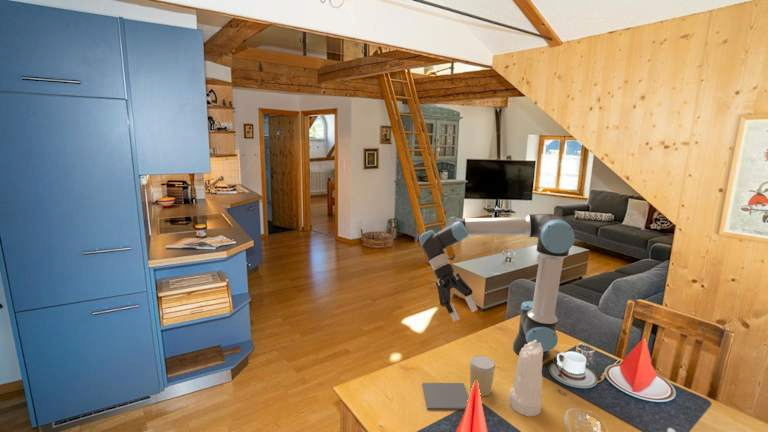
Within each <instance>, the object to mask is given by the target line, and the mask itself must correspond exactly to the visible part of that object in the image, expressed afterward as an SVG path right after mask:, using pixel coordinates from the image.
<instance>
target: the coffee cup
mask: <svg viewBox="0 0 768 432" xmlns="http://www.w3.org/2000/svg"><path fill="white" fill-rule="evenodd" d="M495 369H496V364H495V361H494V360H493V359H492V358H491V357H489V356H486V355H480V354H479V355H478V354H477V355H474V356H472V357H471V359H470V360H469V372H470V373H469V385H470V387H469V388H470V390H471V388H472V385H473V383H474V381H475V380H478V383H479V389H480V393H481V396H480V397H487V396H489V395H490V394H491V391H492V388H493V382H494V373H495Z"/></svg>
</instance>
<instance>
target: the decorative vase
mask: <svg viewBox="0 0 768 432" xmlns="http://www.w3.org/2000/svg"><path fill="white" fill-rule="evenodd" d="M542 358H543V348H542V347H541V343H538V344H537V340H534V341H533V342H529V343H528V344H525V345H524V347H523V348H522V349H521V351H520V352H519V355H518V360H517V362H516V366H515V376H514V379H513V387H511V389H510V391H509V401H508V402H509V405H510V407H511V408H512V410H513V411H514V412H516V413H518V414H519V415H522V416H526V417H535V416H537V415H539V414H541V411H542V404H543V403H542V402H543V396H542V388H543V387H542V385H543V373H542V371H543V364H544V363H543V360H542Z"/></svg>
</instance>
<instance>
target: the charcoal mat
mask: <svg viewBox="0 0 768 432" xmlns="http://www.w3.org/2000/svg"><path fill="white" fill-rule="evenodd" d="M422 389H423V395H424V400H425V405H426V410H431V411H432V410H435V411H436V410H439V411H441V410H443V411H444V410H445V411H446V410H451V411H452V410H453V411H454V410H455V411H457V410H458V411H459V410H460V411H461V410H465V407H466V404H467V400H468V398H469V395H468V393H467V389H466V386H465V384H464V382H422Z"/></svg>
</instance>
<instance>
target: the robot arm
mask: <svg viewBox="0 0 768 432" xmlns="http://www.w3.org/2000/svg"><path fill="white" fill-rule="evenodd" d="M443 227H444V228H442V229H441V230H439V231H437V232H435V231H434V230H433V229H432V230H428V231H426V232H425V231H424V232H423V233H421V234H420V235H419V237H418V240H419V241H418V242H419V243H420V246H421V249H422V250H423V252H424V254H425V257H426V258H427V261H428V262H429V264H430V266H431V268H432V270H434V275H435V277H436V279H437V281H436V282H435V285H436V286H437V287H436V288H437V293H438V299H439V304H440V306H441V307H443V308H444V307H445V308H446V310H447V313H448V314H449V315H450V317H451V319H452V322H453V323H454V322H456V321H459V320H460V316H459V314H458V313H457V309H456V308H455V307H454V304H453V303H452V302H451V289H452V288H453V289H456V291H458V292H459V293H461V294H462V295H463V296H465V297H464V299H465V301H466V304H467V305H468V307H469V309H470V311H471V313H474V312H475V311H478V307H477V305H476V303H475V301H474V298H473V296H472V294H473V293H474V292H473V290H472V288H471V287H470V286H469V285H468V283H466V282H465V281H464V279H463V278H462V277H461V275H460V274H459V273H456V274H454V272H455V271H454V268H453V265H452V264H451V263H450V259H449V258H448V256H447V254H446V251H445V250H446V249H447V248H449V247H452V246H453V245H455V244H457V243H459V242H461V241H463V240H464V239H466V238H468V236H526V237H528V238H537V243H536V252H537V253H538V254H539V259H538V260H539V261H538V266H537V272H536V280H535V286H534V293H533V298H532V300H531V301H530V300H528V301H523V302H522V303H521V306H520V315H519V326H518V333H517V334H516V337H515V339H514V340H513V343H512V350H513V351H514V352H515V354H517V355H518V356H519V352H520V351H521V349H522V348H523V347H524V345H525V344H528V343H529V342H533V341H534V340H537V344H538V343H541V347H542V348H543V358H542V361H543V360H545V359H547V358H548V357H549V354H550V353H549V352H550V351H551V350H553V349H554V348H555V347H557V344H558V341H559V339H558V338H559V337H558V334H557V327H558V319H559V318H558V317H557V315H556V314H555V312H556V306H557V300H558V296H559V295H558V294H559V289H560V288H559V287H560V282H561V276H562V270H563V263H564V259H565V258H568V256H569V254H570V253H569V252H570V249H571V248H572V247H573V245H574V243H575V239H576V238H575V233H574V230H573V228H572V226H571V224H569V223H568V222H567V221H565V220H564V219H563V218H562V217H561V216H559V215H557V214H554V213H537V214H533V213H532V214H527V215H526V216H515V217H512V216H511V217H470V218H467V217H466V218H459V217H457V216H450V217H449V218H447V220H446V221H445V223H444V226H443Z"/></svg>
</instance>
